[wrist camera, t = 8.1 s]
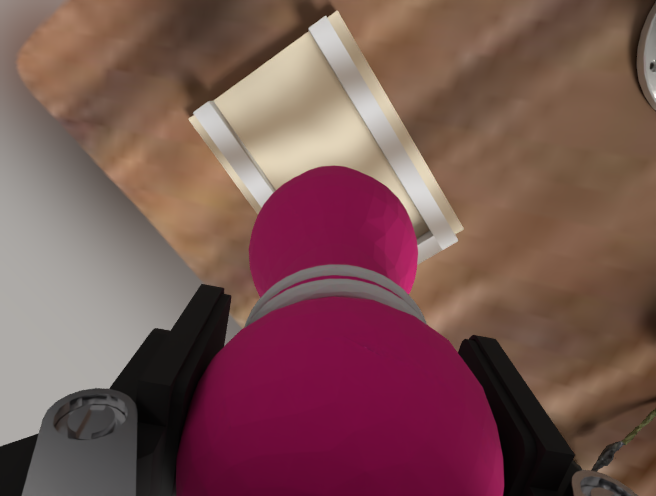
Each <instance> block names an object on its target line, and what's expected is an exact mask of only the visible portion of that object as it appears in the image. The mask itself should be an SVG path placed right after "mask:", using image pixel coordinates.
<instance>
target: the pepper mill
mask: <svg viewBox="0 0 656 496" xmlns="http://www.w3.org/2000/svg"><path fill="white" fill-rule="evenodd" d="M249 261H250V270H251V274H252V277H253V281H254V284H255V287H256V289H257V291H258V294H259V296H260V299H259V300H258V302H257V303H256V304H255V306H254V307H253V309H252V311H251V313H250V315H249V317H248V319H247V322H246V324H245V327H244V328H243V329H242V330H241V331H240V332H239V333H237V335H235V337H234V338H232V339H231V341H229V342H228V343H227V344H226V345H225V346H224V347H223V348H222V349H221V350H220V351H219V352H218V353H217V354H216V355H215V356H214V357H213V359H212V360H211V362H210V364H209V365H208V367H207V369H206V370H205V372H204V374H203V375H202V377H201V379H200V380H199V382H198V384H197V387H196V389H195V392H194V394H193V397H192V400H191V403H190V406H189V409H188V413H187V416H186V420H185V423H184V427H183V431H182V435H181V440H180V444H179V449H178V453H177V460H176V496H503V492H504V462H503V454H502V449H501V444H500V439H499V434H498V429H497V425H496V422H495V419H494V417H493V414H492V411H491V408H490V406H489V403H488V400H487V398H486V395H485V392H484V390H483V387H482V385H481V384H480V383H479V381H478V380H477V378H476V377H475V376H474V374H473V373H472V371H471V370H470V369H469V367H468V366H467V365H466V363H465V362H464V361H463V359H462V358H461V356H460V355H459V354H458V352H457V351H456V350H455V348H454V347H453V346H452V344H451V343H450V342H449V340H447V339H446V338H445V337H443V336H442V335H440V334H439V333H438V332H436V331H435V330H433V329H432V328H431V327H429V326H428V325H427V324H426V321H425V319H424V316H423V314H422V312H421V310H420V309H419V307H418V306H417V304H416V303H415V302H414V300H413V299H412V298H411V297H410V296H409V293H410V291H411V288H412V285H413V283H414V280H415V275H416V270H417V261H418V246H417V239H416V235H415V232H414V228H413V225H412V222H411V219H410V217H409V215H408V213H407V210H406V209H405V207H404V206H403V204H402V203H401V201H400V200H399V198H398V197H397V196H396V195H395V194H394V193H393V192H392V191H391V190H390V189H389V188H388V187H387V186H385V185H384V184H382V183H381V182H379V181H378V180H376V179H374V178H373V177H371V176H368V175H366V174H364V173H361V172H359V171H357V170H354V169H351V168H348V167H344V166H335V165H334V166H321V167H317V168H314V169H311V170H308V171H306V172H304V173H302V174H300V175H299V176H296V177H294V178H292V179H291V180H289V181H288V182H286V183H284V184H283V185H282V186H281V187H279V188H278V189H277V190H276V191H275V192H274V193H273V194H272V195H271V196H270V197H269V198H268V200H267V201H266V202H265V203H264V205H263V207H262V208H261V210H260V212H259V214H258V216H257V219H256V222H255V224H254V227H253V230H252V235H251V240H250V245H249Z"/></svg>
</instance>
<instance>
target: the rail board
mask: <svg viewBox="0 0 656 496" xmlns="http://www.w3.org/2000/svg"><path fill="white" fill-rule="evenodd" d="M308 29H309V31H308V32H307V33H306V34H304V35H303V36H301V37H300V38H299V39H297V40H296V41H295V42H293V43H292V44H291V45H289V46H288V47H286V48H285V49H284V50H282V51H281V52H280V53H278V54H277V55H275V56H274V57H273V58H271V59H270V60H269V61H267V62H266V63H264V64H263V65H262V66H260V67H259V68H258V69H256V70H255V71H254V72H252V73H251V74H249V75H248V76H247V77H245V78H244V79H243V80H241V81H240V82H238V83H237V84H236V85H234V86H233V87H232V88H230V89H229V90H227V91H226V92H225V93H223V94H222V95H221V96H219V97H218V98H216V99H215V100H214V101H208V102H207V103H205V104H204V105H202V106H201V107H200V108H198V109H197V110H196V111H194V112H193V114H194V115H193V116H192V117H190V118H189V121H190V122H191V123H192V125H193V126H194V128H195V129H196V130H197V132H198V133H199V134H200V136H201V137H202V139H203V140H204V141H205V143H206V144H207V145H208V147H209V148H210V150H211V151H212V152H213V154H214V155H215V156H216V158H217V159H218V161H219V162H220V163H221V165H222V166H223V167H224V169H225V170H226V171H227V173H228V174H229V176H230V177H231V178H232V180H233V181H234V182H235V184H236V185H237V187H238V188H239V189H240V191H241V192H242V193H243V195H244V196H245V198H246V199H247V200H248V202H249V203H250V204H251V206H252V207H253V209H254V210H255V211H256V213H257V214H259V212H260V210H261V208H262V207H263V205H264V203H265V202H266V201H267V200H268V198H269V197H270V196H271V195H272V194H273V193H274V192H275V191H276V190H277V189H278V188H279V187H281V186H282V185H283V184H284V183H286V182H288V181H289V180H291V179H292V178H294V177H296V176H299V175H300V174H302V173H304V172H306V171H308V170H311V169H314V168H317V167H321V166H334V165H335V166H344V167H348V168H351V169H354V170H357V171H359V172H361V173H364V174H366V175H368V176H371V177H373V178H374V179H376V180H378V181H379V182H381V183H382V184H384V185H385V186H387V187H388V188H389V189H390V190H391V191H392V192H393V193H394V194H395V195H396V196H397V197H398V198H399V200H400V201H401V203H402V204H403V206H404V207H405V209H406V210H407V213H408V215H409V217H410V219H411V222H412V225H413V228H414V232H415V235H416V239H417V246H418V261H417V265H418V264H419V263H421V262H423V261H425V260H426V259H428V258H430V257H431V256H433V255H435V254H437V253H438V252H440V251H442V250H443V249H445V248H447V247H448V246H450V245H452V244H454V243H455V242H457V241H458V239H457V237H456V236H455V234H457V233H458V232H460V231H462V230H463V229H464V228H463V227H462V225H461V223H460V221H459V220H458V218H457V216H456V214H455V213H454V211H453V209H452V208H451V206H450V204H449V202H448V201H447V199H446V197H445V195H444V194H443V192H442V190H441V189H440V187H439V185H438V183H437V182H436V180H435V178H434V176H433V175H432V173H431V171H430V170H429V168H428V166H427V164H426V163H425V161H424V159H423V157H422V156H421V154H420V152H419V151H418V149H417V147H416V145H415V144H414V142H413V140H412V138H411V137H410V135H409V133H408V132H407V130H406V128H405V126H404V125H403V123H402V121H401V119H400V118H399V116H398V114H397V113H396V111H395V109H394V107H393V106H392V104H391V102H390V100H389V99H388V97H387V95H386V94H385V92H384V90H383V88H382V87H381V85H380V83H379V81H378V80H377V78H376V76H375V75H374V73H373V71H372V69H371V68H370V66H369V64H368V62H367V61H366V59H365V57H364V56H363V54H362V52H361V50H360V49H359V47H358V45H357V43H356V42H355V40H354V38H353V37H352V35H351V33H350V31H349V30H348V28H347V26H346V24H345V23H344V21H343V19H342V18H341V16H340V14H339V12H338V11H336V12H334V13H333V14H332V15H330V16H329V17H328V18H327V16H324V17H323V18H321V19H320V20H319V21H317V22H316V23H315V24H313V25H312V26H311V27H309V28H308Z"/></svg>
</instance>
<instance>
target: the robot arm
mask: <svg viewBox="0 0 656 496" xmlns="http://www.w3.org/2000/svg"><path fill="white" fill-rule="evenodd" d="M649 67H650V68H649ZM637 72H638V79H639V83H640V86H641V88H642V91H643V94H644V96H645V97H646V99H647V100H648V102H649V103H650V105H651V106H652V107H653V108H654V109H655V110H656V2H655V4H654V6H653V7H652V9H651V11H650V12H649V14H648V16H647V19H646V21H645V24H644V26H643V29H642V31H641V35H640V40H639V44H638V49H637ZM230 303H231V295H227V294H224V288H221V287H215V286H210V285H205V284H201V286H200V287H199V289H198V290H197V292H196V293H195V295H194V296H193V298H192V299H191V301H190V302H189V304H188V305H187V307H186V308H185V310H184V311H183V313H182V314H181V316H180V317H179V319H178V320H177V322H176V323H175V325H174V326H173V328H172V329H171V331H169V330H164V329H158V328H155V329H154V330H152V332H151V333H150V334H149V335H148V337H147V338H146V340H145V341H144V342H143V344H142V345H141V346H140V348H139V349H138V350H137V352H136V353H135V355H134V356H133V357H132V358H131V360H130V361H129V363H128V364H127V365H126V367H125V368H124V369H123V371H122V372H121V373H120V375H119V376H118V378H117V379H116V380H115V382H114V383H113V384H112V386H111V387H110V389H100V388H95V389H88V390H82V391H78V392H75V393H73V394H69V395H67V396H65V397H64V398H62V399H60V400H58V401H57V402H56V403H54V405H52V406H51V407H50V408H49V409H48V410H47V412H46V414H45V416H44V418H43V420H42V424H41V427H40V431H39V434H36V435H33V436H30V437H27V438H24V439H21V440H18V441H15V442H12V443H9V444H6V445H3V446H1V447H0V496H176V460H177V453H178V449H179V444H180V440H181V435H182V431H183V427H184V423H185V420H186V416H187V413H188V409H189V406H190V403H191V400H192V397H193V394H194V392H195V389H196V387H197V384H198V382H199V380H200V379H201V377H202V375H203V374H204V372H205V370H206V369H207V367H208V365H209V364H210V362H211V360H212V359H213V357H214V356H215V355H216V354H217V353H218V352H219V351H220V350H221V349H222V348H223V347H224V343H225V336H226V329H227V323H228V316H229V310H230ZM458 354H459V355H460V356H461V358H462V359H463V361H464V362H465V363H466V365H467V366H468V367H469V369H470V370H471V371H472V373H473V374H474V376H475V377H476V378H477V380H478V381H479V383H480V384H481V385H482V387H483V390H484V392H485V395H486V398H487V400H488V403H489V406H490V408H491V411H492V414H493V417H494V419H495V422H496V425H497V429H498V434H499V439H500V444H501V449H502V454H503V462H504V492H503V496H638V495H637V494H635V493H634V492H633V491H632V490H631V489H629V488H628V487H626V486H625V485H623V484H622V483H620V482H619V481H617V480H615V479H613V478H611V477H609V476H607V475H605V474H602V473H599V472H596V471H590V470H581V471H578V470H577V469H576V467H575V466H574V464H573V463H572V460H573V458H574V456H575V454H574V453H573V451H572V450H571V449H570V447H569V446H568V444H567V443H566V441H565V440H564V438H563V437H562V435H561V434H560V432H559V431H558V429H557V428H556V427H555V425H554V424H553V422H552V421H551V419H550V418H549V416H548V415H547V413H546V412H545V410H544V409H543V407H542V406H541V405H540V403H539V402H538V400H537V399H536V397H535V396H534V394H533V393H532V391H531V390H530V388H529V387H528V386H527V384H526V383H525V381H524V380H523V378H522V377H521V375H520V374H519V372H518V371H517V369H516V368H515V366H514V365H513V364H512V362H511V361H510V359H509V358H508V356H507V355H506V353H505V352H504V350H503V349H502V347H501V346H500V344H499V343H498V342H497V340H496V339H492V338H487V337H482V336H476V335H472V336H471V337H470V338H469V340H468V339H464V340H463V341H462V343H461V346H460V349H459V351H458Z"/></svg>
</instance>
